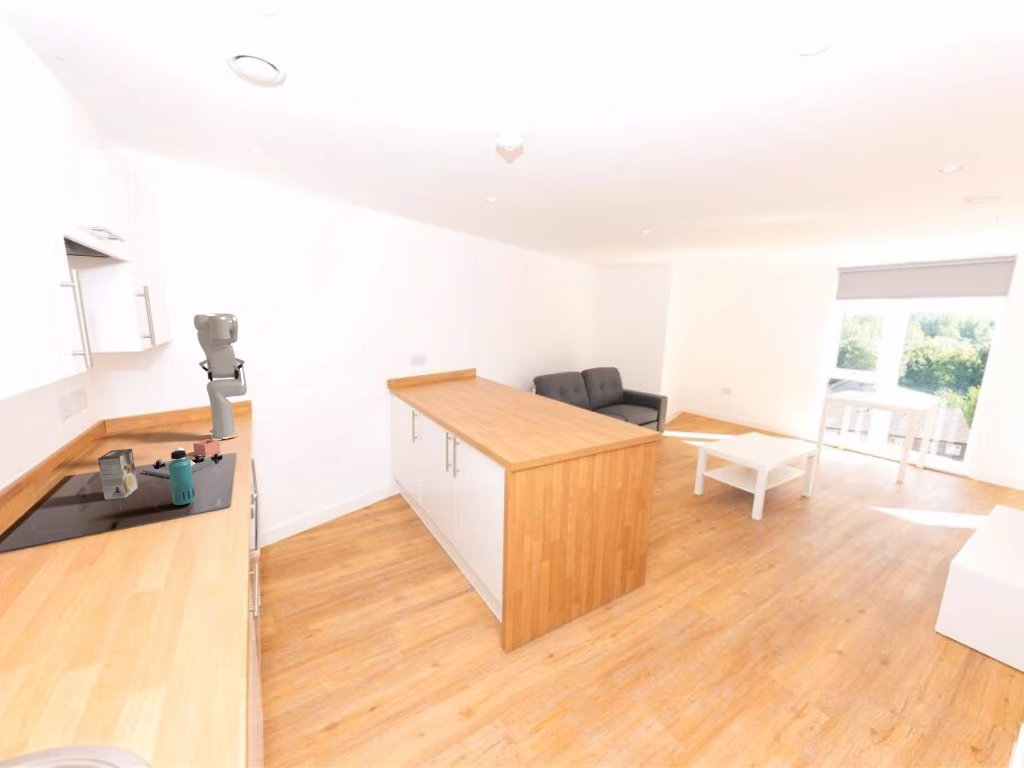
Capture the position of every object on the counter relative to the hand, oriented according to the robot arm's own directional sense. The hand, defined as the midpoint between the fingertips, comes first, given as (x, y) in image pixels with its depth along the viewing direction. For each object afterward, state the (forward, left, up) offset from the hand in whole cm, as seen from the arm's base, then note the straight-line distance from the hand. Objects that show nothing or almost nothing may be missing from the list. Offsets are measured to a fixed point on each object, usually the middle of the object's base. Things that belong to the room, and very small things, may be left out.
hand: (224, 379), depth 189 cm
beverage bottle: (+31, -44, -37) cm, 65 cm away
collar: (-11, -3, -37) cm, 38 cm away
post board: (-4, -20, -36) cm, 42 cm away
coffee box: (+1, -45, -37) cm, 58 cm away
